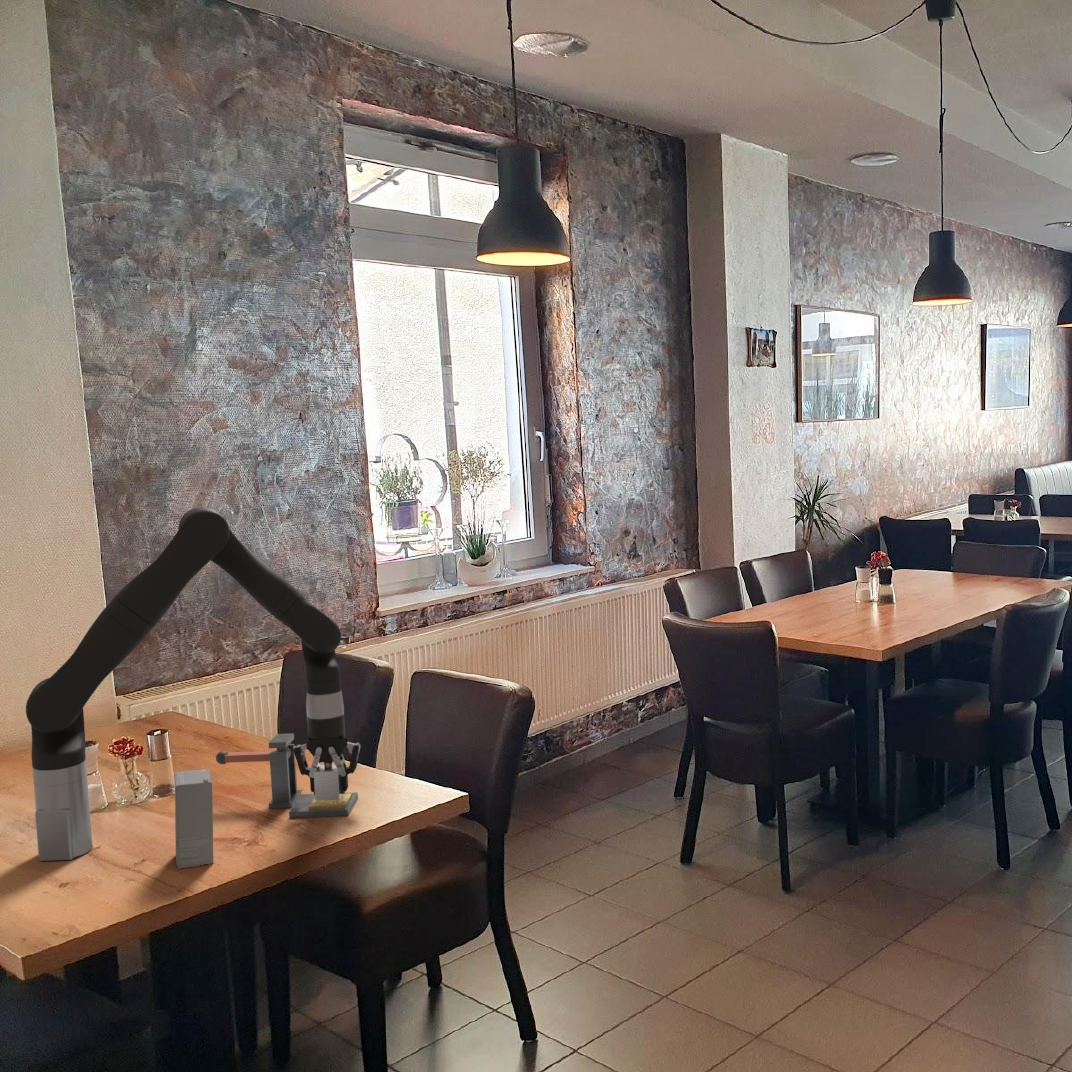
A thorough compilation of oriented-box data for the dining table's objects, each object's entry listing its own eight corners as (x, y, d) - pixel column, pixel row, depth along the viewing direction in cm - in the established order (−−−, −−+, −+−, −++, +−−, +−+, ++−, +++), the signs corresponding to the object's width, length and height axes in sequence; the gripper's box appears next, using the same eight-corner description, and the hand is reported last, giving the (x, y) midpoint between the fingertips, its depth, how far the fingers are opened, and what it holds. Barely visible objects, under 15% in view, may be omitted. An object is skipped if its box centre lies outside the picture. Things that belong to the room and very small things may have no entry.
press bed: (348, 815, 212) (344, 749, 211) (260, 818, 212) (256, 752, 211) (361, 792, 226) (357, 730, 225) (279, 795, 227) (275, 733, 226)
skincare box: (175, 854, 194) (169, 771, 193) (215, 848, 197) (209, 766, 196) (176, 871, 187) (170, 784, 185) (218, 864, 189) (212, 778, 188)
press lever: (286, 764, 220) (286, 751, 219) (213, 767, 220) (212, 754, 220) (291, 758, 224) (291, 746, 224) (219, 761, 224) (218, 748, 224)
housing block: (339, 799, 214) (337, 764, 213) (315, 800, 214) (313, 765, 214) (344, 791, 219) (342, 757, 218) (320, 792, 219) (318, 758, 219)
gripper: (286, 718, 212) (291, 800, 213) (356, 716, 211) (360, 798, 213) (295, 709, 219) (299, 788, 220) (363, 707, 219) (367, 786, 220)
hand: (329, 792), depth 217 cm, fingers closed on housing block, 5 cm apart
